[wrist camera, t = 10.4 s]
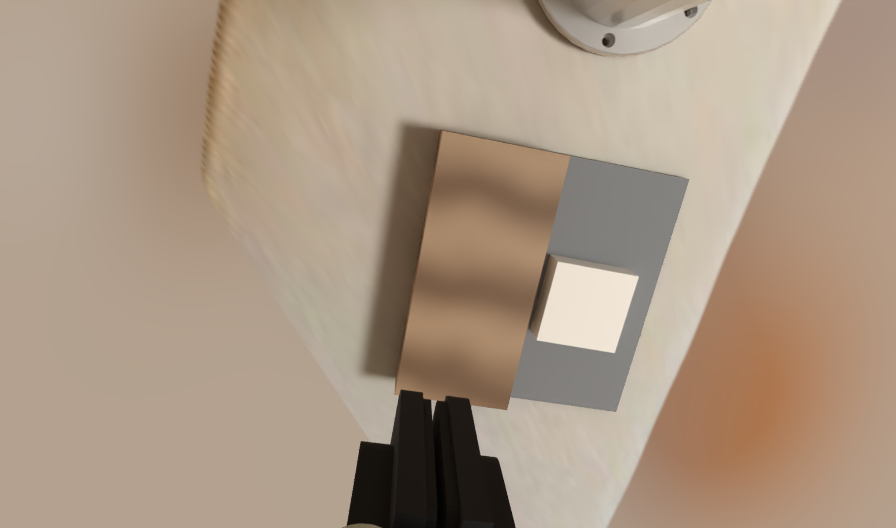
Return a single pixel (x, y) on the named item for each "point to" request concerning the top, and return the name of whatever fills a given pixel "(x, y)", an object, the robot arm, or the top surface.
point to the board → (478, 268)
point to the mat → (612, 243)
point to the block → (583, 303)
